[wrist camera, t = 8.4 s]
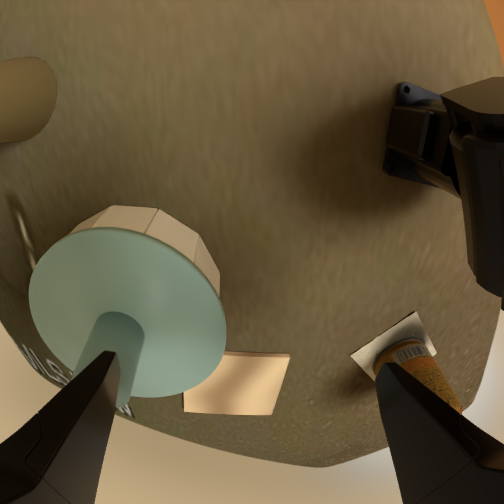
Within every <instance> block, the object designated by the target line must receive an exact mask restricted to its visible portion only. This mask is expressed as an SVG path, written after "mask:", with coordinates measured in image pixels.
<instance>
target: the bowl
mask: <svg viewBox="0 0 504 504" xmlns="http://www.w3.org/2000/svg"><path fill="white" fill-rule="evenodd" d="M94 227H117V228H124V229H130V230H134V231H137V232H141V233H144V234H147V235H149V236H152V237H154V238H157V239H159V240H161V241H163V242H165V243H166V244H168V245H170V246H172V247H174V248H175V249H177V250H178V251H179V252H181V253H182V254H184V255H185V256H186V257H188V258H189V259H190V260H191V261H192V262H193V263H194V264H195V265H196V266H198V267H199V269H200V270H201V271H202V272H203V273H204V274H205V275H206V277H207V278H208V279H209V281H210V282H211V284H212V285H213V287H214V288H215V290H216V292H217V294H218V296H219V293H220V272H219V270H218V268H217V266H216V265H215V263H214V261H213V259H212V257H211V255H210V253H209V252H208V250H207V248H206V246H205V244H204V242H203V240H202V238H201V237H200V236H198V235H199V234H198V233H196V232H195V231H193V230H191V229H190V228H188V227H187V226H185V225H184V224H182V223H181V222H179V221H177V220H176V219H174V218H173V217H171V216H170V215H168V214H167V213H165V212H164V211H162V210H160V209H159V210H158V208H148V207H133V206H118V205H113V206H110V207H108V208H106V209H104V210H103V211H101V212H99V213H97V214H96V215H94V216H92V217H90V218H89V219H87V220H85V221H83V222H82V223H80V224H78V225H77V226H76V227H75V228H74V229H73V230H72V231H71V232H70V233H69V234H71V233H73V232H76V231H80V230H83V229H87V228H94ZM69 234H68V235H69Z"/></svg>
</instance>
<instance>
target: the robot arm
mask: <svg viewBox="0 0 504 504" xmlns="http://www.w3.org/2000/svg"><path fill="white" fill-rule="evenodd" d="M404 87H406V88H407V92H406V93H405V91H404ZM386 144H387V149H386V153H385V158H384V162H383V171H384V172H385V173H386V174H388V175H390V176H395V177H399V178H403V179H408V180H412V181H416V182H420V183H424V184H428V185H432V186H435V187H439V188H442V189H444V190H446V191H447V192H449V193H451V194H453V195H454V196H456V197H458V198H460V199H461V200H462V207H463V215H464V223H465V233H466V244H467V257H468V264H469V266H470V268H471V270H472V271H473V273H474V275H475V276H476V282H477V283H478V284H479V285H480V286H481V287H483V288H484V289H485V290H486V291H488V292H490V293H492V294H494V295H496V296H498V297H502V301H501V309H502V310H503V311H504V77H492V78H489V79H485V80H482V81H479V82H476V83H473V84H469V85H466V86H463V87H460V88H457V89H454V90H451V91H448V92H445V93H442V94H440V95H438V94H435V93H433V92H430V91H428V90H426V89H423V88H421V87H418V86H416V85H413V84H410V83H407V82H402V83H400V84H399V85H398V89H397V95H396V101H395V107H393V108H392V113H391V118H390V124H389V129H388V134H387V139H386ZM390 165H392V169H391V170H388V167H389V166H390ZM120 374H121V369H120V364H119V359H118V355H117V353H116V352H115V351H109V350H104V351H103V352H102V353H101V354H99V355H98V356H97V357H96V358H95V359H94V360H93V361H92V362H91V363H90V364H89V365H87V366H86V367H85V368H84V369H83V370H82V371H81V372H80V373H79V374H78V375H77V376H76V377H75V378H73V379H72V380H71V381H70V382H69V383H68V384H67V385H66V386H65V387H64V388H63V389H62V390H61V391H60V392H58V393H57V394H56V395H55V396H54V397H53V398H52V399H51V400H50V401H49V402H48V403H47V404H46V405H45V406H44V407H43V408H42V409H41V410H39V411H38V413H36V414H35V415H34V416H33V417H32V418H31V419H30V420H29V421H28V422H27V423H25V424H24V425H23V426H22V427H21V428H20V429H19V430H18V431H16V432H15V433H14V434H13V435H11V436H10V437H9V438H7V439H6V440H5V441H3V442H2V443H1V444H0V504H94V502H95V497H96V492H97V487H98V482H99V478H100V473H101V468H102V464H103V460H104V455H105V451H106V447H107V443H108V438H109V434H110V431H111V427H112V423H113V418H114V414H115V408H116V401H117V394H118V387H119V381H120ZM375 386H376V392H377V397H378V403H379V409H380V414H381V419H382V423H383V426H384V430H385V433H386V437H387V441H388V444H389V448H390V452H391V456H392V460H393V464H394V467H395V471H396V476H397V480H398V484H399V488H400V493H401V497H402V501H403V504H504V444H503V443H501V442H499V441H498V440H496V439H495V438H493V437H492V436H490V435H489V434H487V433H486V432H484V431H483V430H481V429H480V428H478V427H477V426H476V425H474V424H473V423H472V422H470V421H469V420H468V419H466V418H465V417H464V416H463V415H460V413H459V412H458V411H456V410H455V409H454V408H453V407H451V406H450V405H449V404H448V403H446V402H445V401H444V400H443V399H441V398H440V397H439V396H438V395H436V394H435V393H434V392H433V391H431V390H430V389H429V388H428V387H426V386H425V385H424V384H423V383H421V382H420V381H419V380H418V379H416V378H415V377H414V376H413V375H411V374H410V373H409V372H407V371H406V370H405V369H404V368H402V367H401V366H400V365H399V364H397V363H396V362H394V361H391V362H384V363H383V364H382V366H381V368H380V370H379V372H378V373H377V375H376V378H375Z"/></svg>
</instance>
